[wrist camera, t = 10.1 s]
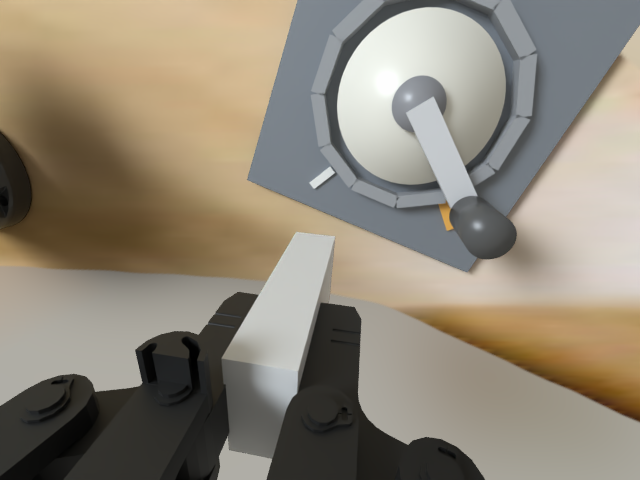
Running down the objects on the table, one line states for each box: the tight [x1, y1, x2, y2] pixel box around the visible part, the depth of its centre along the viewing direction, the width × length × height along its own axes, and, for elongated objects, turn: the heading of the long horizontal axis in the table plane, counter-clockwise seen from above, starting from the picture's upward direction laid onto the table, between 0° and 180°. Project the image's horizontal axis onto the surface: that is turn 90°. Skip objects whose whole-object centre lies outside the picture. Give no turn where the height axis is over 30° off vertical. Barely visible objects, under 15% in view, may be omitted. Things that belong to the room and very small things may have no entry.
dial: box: [337, 7, 517, 259], centre depth 25 cm, size 20×14×8 cm
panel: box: [247, 0, 640, 272], centre depth 28 cm, size 26×26×2 cm
